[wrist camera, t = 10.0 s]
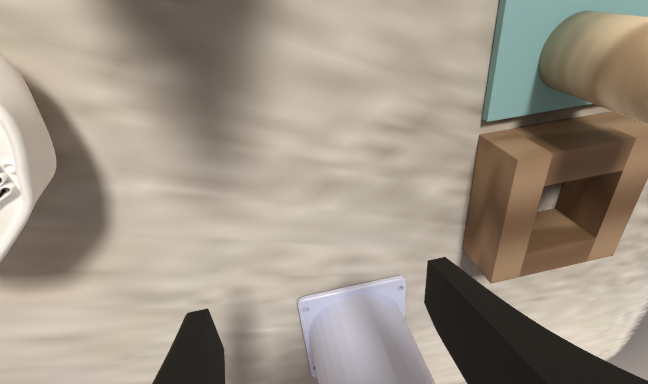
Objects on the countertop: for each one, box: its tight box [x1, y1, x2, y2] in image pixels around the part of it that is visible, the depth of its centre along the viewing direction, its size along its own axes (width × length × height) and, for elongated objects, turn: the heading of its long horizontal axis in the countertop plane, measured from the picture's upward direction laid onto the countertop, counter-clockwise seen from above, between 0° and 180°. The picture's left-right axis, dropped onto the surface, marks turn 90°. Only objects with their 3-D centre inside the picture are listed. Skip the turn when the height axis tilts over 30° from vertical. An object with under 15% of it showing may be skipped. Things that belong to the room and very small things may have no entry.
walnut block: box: [463, 111, 648, 283], centre depth 23 cm, size 9×9×4 cm
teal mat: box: [482, 0, 648, 122], centre depth 19 cm, size 7×9×1 cm
